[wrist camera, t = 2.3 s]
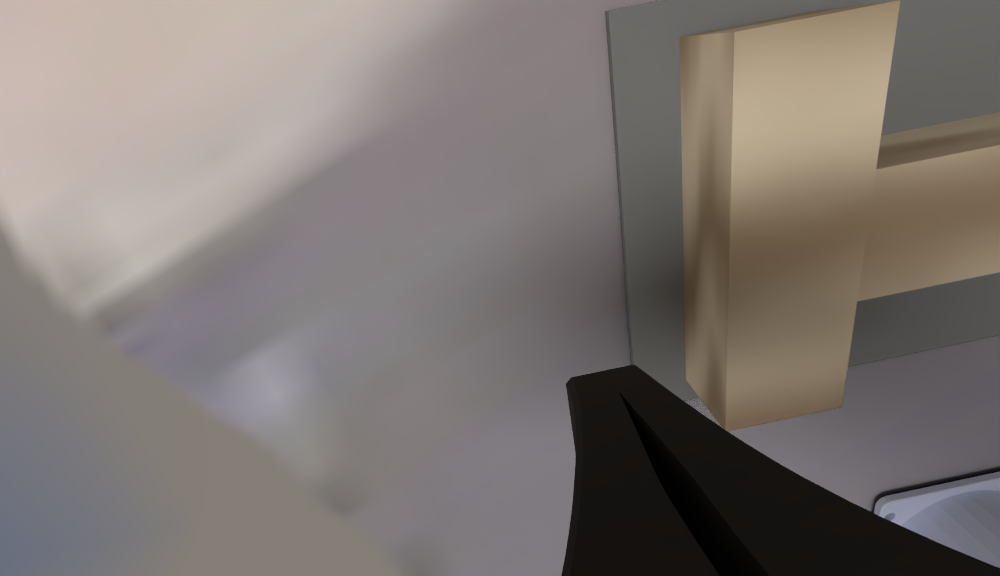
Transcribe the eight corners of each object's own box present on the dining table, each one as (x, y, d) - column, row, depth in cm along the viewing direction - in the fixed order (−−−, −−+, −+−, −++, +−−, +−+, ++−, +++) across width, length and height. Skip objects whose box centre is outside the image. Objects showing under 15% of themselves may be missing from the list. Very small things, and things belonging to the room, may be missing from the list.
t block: (984, 317, 20) (1071, 358, 17) (685, 380, 20) (725, 431, 17) (1080, -40, 15) (1225, -62, 12) (679, 37, 15) (734, 32, 12)
